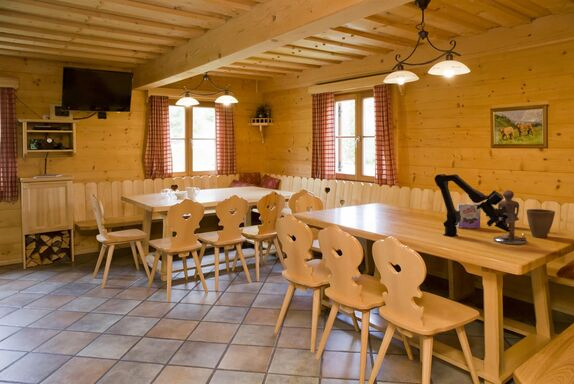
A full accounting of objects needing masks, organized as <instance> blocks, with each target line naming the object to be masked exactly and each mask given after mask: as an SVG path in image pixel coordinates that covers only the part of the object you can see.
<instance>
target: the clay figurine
mask: <svg viewBox="0 0 574 384" xmlns="http://www.w3.org/2000/svg"><path fill="white" fill-rule="evenodd" d="M514 195H515V193H514V191H512V190H509V189H508V190H505V191H504V192H503V193H502V196H503V198H504V199H505V200H502V201H500V202H499V203H498V204H497V209H501V208H502V207H503V206H507V207H508V208H510V209H509V211H510V212H507V213H504V214H508V215H509V216H510V217H509V218H508V219H506V224H507V226H508V227H509V226H510V221H515V222H516V221H519V220H520V218H519V217H518V216H519V212H520V204H519V202H518V201H515V200H513V197H514Z"/></svg>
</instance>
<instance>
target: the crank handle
mask: <svg viewBox="0 0 574 384" xmlns="http://www.w3.org/2000/svg"><path fill="white" fill-rule="evenodd" d="M515 223H516V221H510V226H509V225H508V228H509V230H510V231H509V232H508V233H509V234H502V235H500V236H501V238H502V239H506V240H509V241H514V240H518V239H519V240H527V237H526V236H525V237H523V236H518V235H515V228H516V224H515Z"/></svg>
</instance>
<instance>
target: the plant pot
mask: <svg viewBox="0 0 574 384" xmlns="http://www.w3.org/2000/svg"><path fill="white" fill-rule="evenodd" d="M555 214H556V211H555V210H551V209H544V208H543V209H540V208H539V209H538V208H531V209H526V216H527V222H528V227H529V230H530V233H531V235H532V237H534V238H539V239H544V238H547V237H548V235H549V233H550V231H551V228H552V225H553V222H554V219H555Z"/></svg>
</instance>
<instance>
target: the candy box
mask: <svg viewBox="0 0 574 384" xmlns="http://www.w3.org/2000/svg"><path fill="white" fill-rule="evenodd" d="M478 204H479V203H459V202H458V203H457V205H456V206H457V207H456V209H457V210H456V211H459V212H460V215H461V220H460V222H459V223H458V225H456V228H458V229H475V230H476V229H481V208H480V209H477V205H478ZM480 204H481V203H480ZM480 204H479V205H480Z"/></svg>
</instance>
